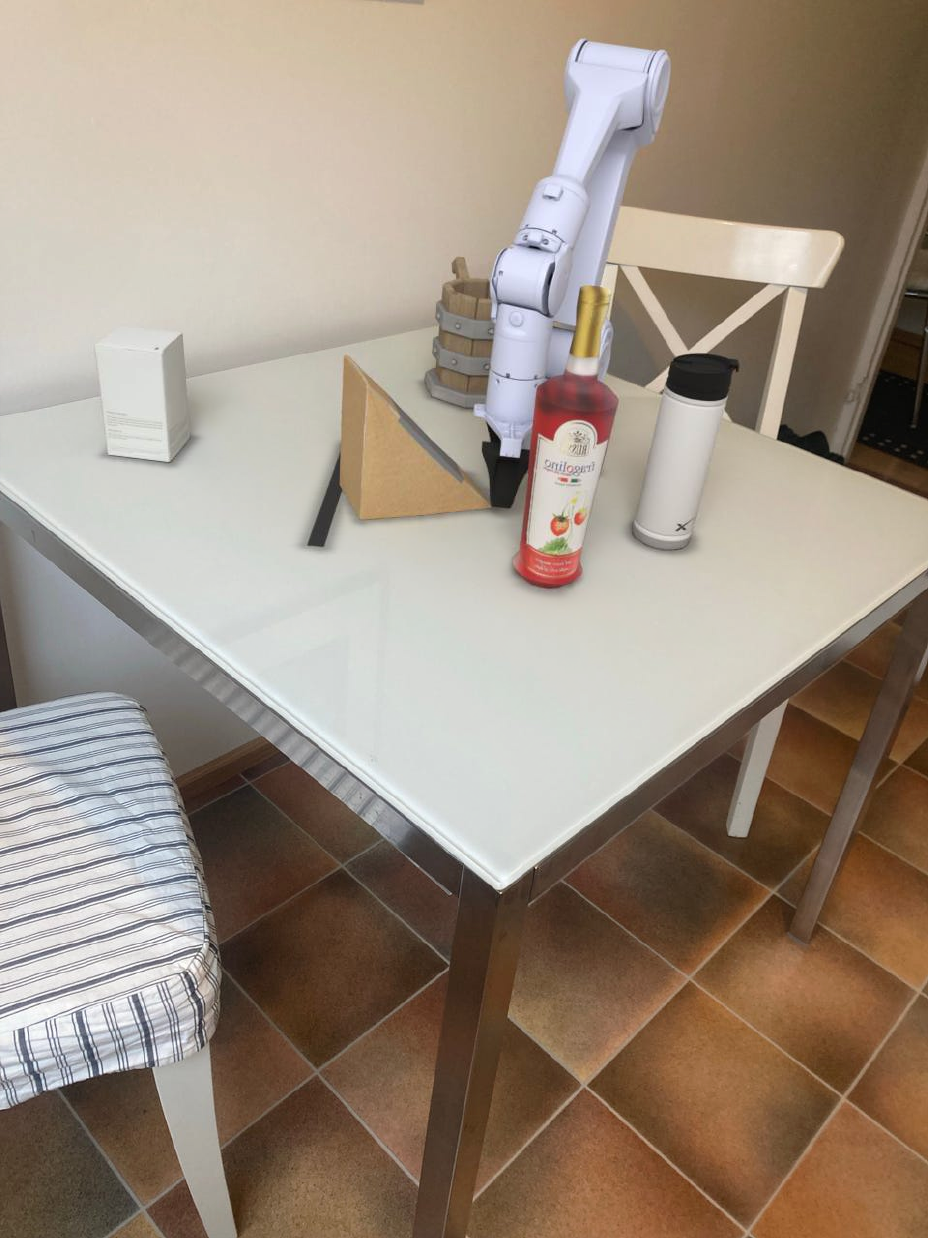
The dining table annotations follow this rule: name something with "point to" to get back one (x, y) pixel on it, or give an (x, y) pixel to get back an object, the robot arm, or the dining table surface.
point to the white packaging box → (143, 392)
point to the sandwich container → (394, 458)
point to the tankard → (462, 340)
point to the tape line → (327, 509)
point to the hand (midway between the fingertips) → (501, 490)
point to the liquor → (567, 453)
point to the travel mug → (682, 448)
